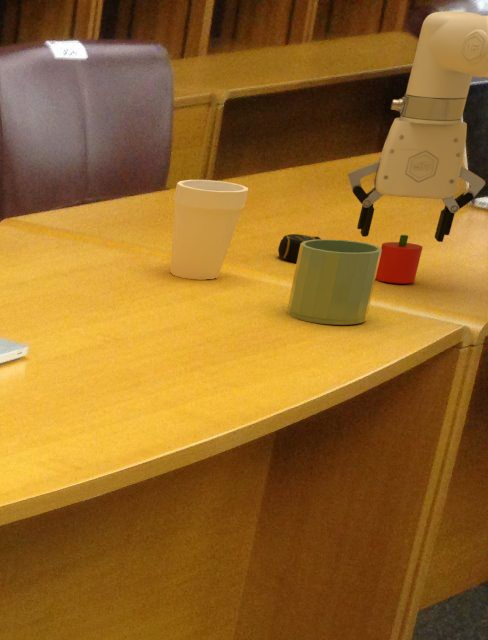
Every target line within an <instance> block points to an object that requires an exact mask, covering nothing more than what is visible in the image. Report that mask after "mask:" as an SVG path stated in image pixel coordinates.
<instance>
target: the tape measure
mask: <svg viewBox="0 0 488 640" xmlns="http://www.w3.org/2000/svg"><path fill="white" fill-rule="evenodd" d="M319 239H322V238H321V237H319V236H311V235H308V234H307V235H306V234H299V233H290V234H286V235H284V236H283V237H282V239H280V242H279V245H278V250H277V252H278V256H279V258H281V259H283V260H286V261H287V262H288V261H289V262H291V263H292V262H293V263H297V258H298V253H299V249H300V244H301V243H302V242H303V241H308V240H319Z"/></svg>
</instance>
